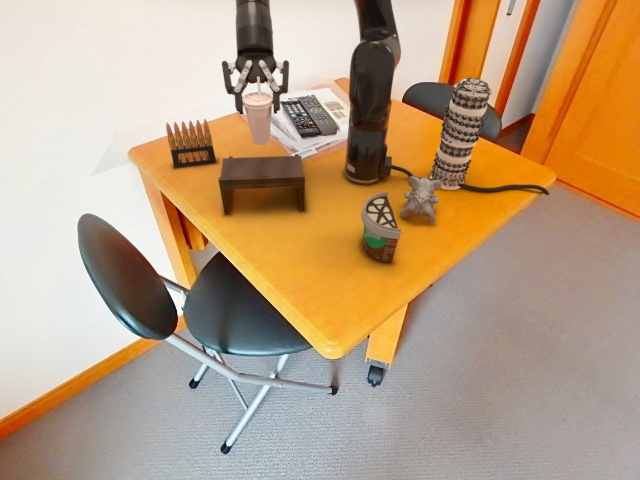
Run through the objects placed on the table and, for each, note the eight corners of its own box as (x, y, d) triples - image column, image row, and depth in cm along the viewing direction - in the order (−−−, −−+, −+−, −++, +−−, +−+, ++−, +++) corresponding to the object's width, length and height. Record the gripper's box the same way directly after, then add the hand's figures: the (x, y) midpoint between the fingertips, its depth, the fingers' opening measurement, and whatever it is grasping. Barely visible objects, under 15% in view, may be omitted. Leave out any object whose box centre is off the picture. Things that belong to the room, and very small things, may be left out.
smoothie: (270, 149, 85) (266, 84, 76) (242, 146, 86) (234, 81, 77) (279, 135, 90) (275, 72, 80) (252, 132, 91) (245, 69, 81)
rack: (298, 162, 106) (298, 129, 99) (304, 211, 90) (304, 176, 84) (230, 164, 104) (225, 131, 98) (224, 215, 89) (218, 180, 82)
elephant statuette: (401, 225, 88) (407, 197, 82) (392, 193, 96) (397, 166, 91) (442, 225, 88) (451, 198, 83) (430, 193, 97) (437, 166, 92)
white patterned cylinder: (421, 180, 101) (444, 81, 84) (439, 166, 106) (465, 70, 89) (453, 195, 97) (484, 94, 80) (471, 180, 102) (504, 82, 85)
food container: (353, 228, 86) (357, 191, 80) (380, 227, 87) (387, 190, 80) (362, 270, 77) (367, 231, 71) (393, 268, 78) (401, 230, 71)
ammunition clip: (215, 159, 106) (208, 117, 98) (216, 163, 104) (209, 120, 96) (174, 164, 103) (163, 121, 95) (174, 168, 102) (162, 124, 94)
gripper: (216, 23, 78) (220, 106, 77) (289, 22, 79) (293, 105, 79) (222, 43, 86) (225, 119, 85) (288, 42, 87) (292, 118, 86)
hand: (258, 112), depth 82 cm, fingers closed on smoothie, 6 cm apart
